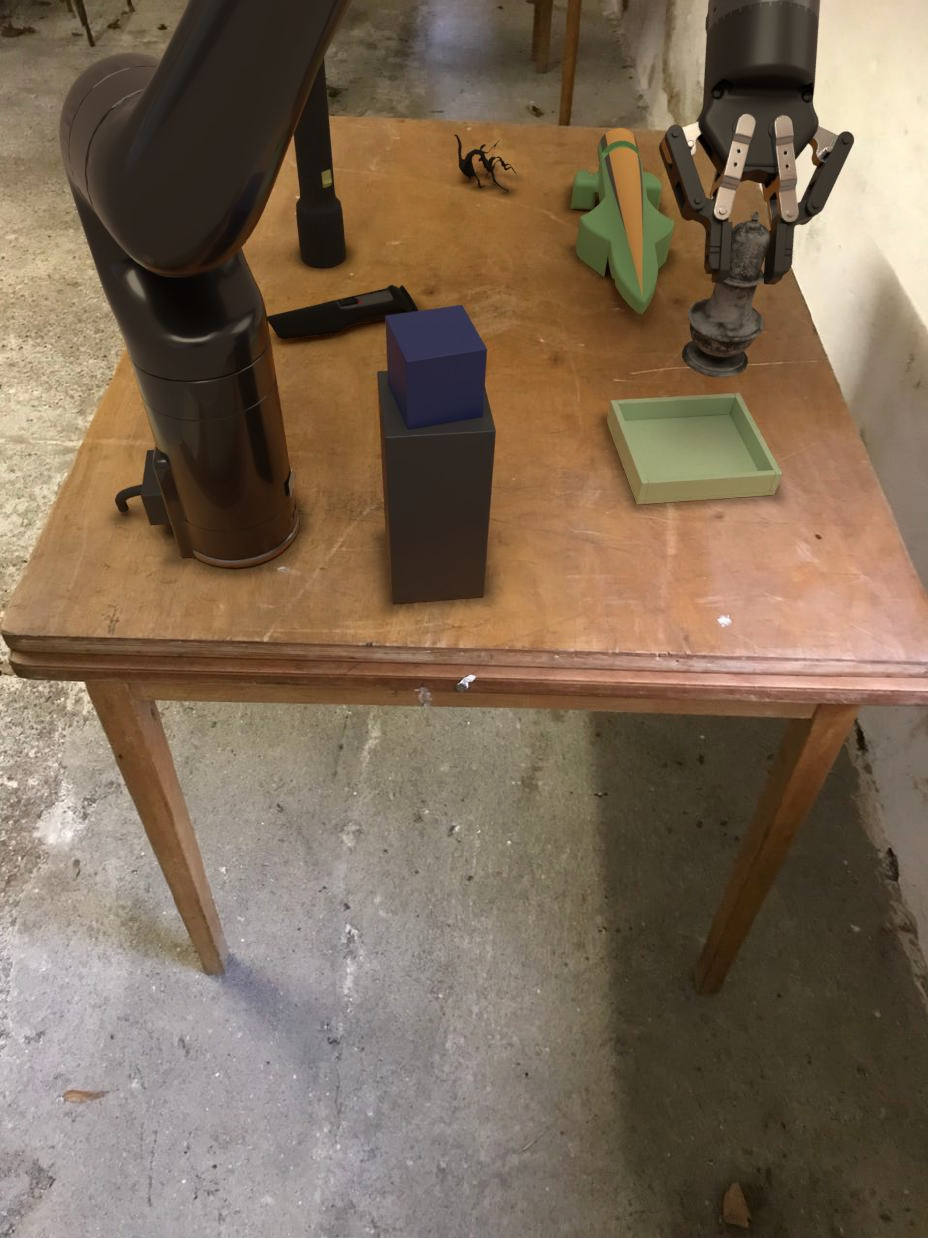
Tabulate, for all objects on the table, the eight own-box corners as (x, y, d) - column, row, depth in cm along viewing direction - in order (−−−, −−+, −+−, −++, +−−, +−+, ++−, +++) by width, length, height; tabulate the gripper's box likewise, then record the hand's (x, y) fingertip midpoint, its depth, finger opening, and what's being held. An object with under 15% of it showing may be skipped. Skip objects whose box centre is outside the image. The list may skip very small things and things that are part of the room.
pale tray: (636, 504, 76) (642, 483, 74) (606, 421, 83) (610, 399, 81) (774, 495, 77) (782, 473, 75) (732, 413, 84) (739, 392, 82)
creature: (501, 172, 117) (444, 165, 114) (512, 129, 113) (454, 120, 110) (522, 200, 112) (463, 193, 109) (534, 156, 108) (474, 147, 105)
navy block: (407, 430, 56) (406, 361, 52) (387, 383, 59) (385, 315, 55) (483, 416, 57) (487, 348, 53) (459, 371, 60) (462, 304, 56)
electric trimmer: (265, 334, 90) (260, 305, 88) (407, 301, 95) (406, 273, 92) (276, 354, 88) (271, 325, 86) (421, 319, 92) (421, 291, 90)
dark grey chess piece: (757, 381, 70) (808, 234, 61) (683, 378, 70) (721, 230, 61) (744, 337, 74) (790, 193, 65) (673, 335, 74) (709, 189, 65)
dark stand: (392, 604, 68) (385, 437, 56) (385, 538, 72) (377, 370, 60) (483, 597, 69) (496, 430, 56) (471, 532, 73) (480, 365, 61)
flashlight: (291, 255, 100) (320, 273, 98) (260, 3, 81) (295, 17, 79) (326, 240, 102) (355, 256, 100) (303, -9, 83) (338, 5, 81)
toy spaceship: (686, 338, 92) (703, 271, 86) (584, 333, 92) (594, 266, 86) (652, 191, 112) (664, 129, 107) (568, 187, 112) (576, 125, 106)
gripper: (675, -9, 59) (661, 262, 61) (887, 0, 59) (867, 269, 61) (649, 51, 67) (638, 291, 68) (838, 58, 67) (822, 297, 69)
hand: (747, 279), depth 65 cm, fingers closed on dark grey chess piece, 3 cm apart
